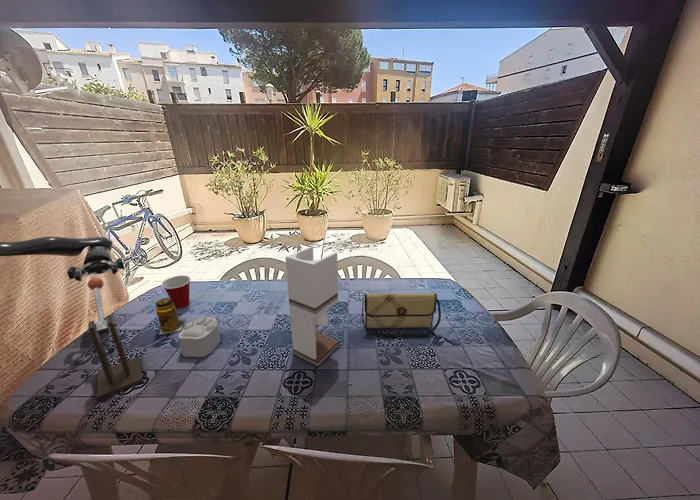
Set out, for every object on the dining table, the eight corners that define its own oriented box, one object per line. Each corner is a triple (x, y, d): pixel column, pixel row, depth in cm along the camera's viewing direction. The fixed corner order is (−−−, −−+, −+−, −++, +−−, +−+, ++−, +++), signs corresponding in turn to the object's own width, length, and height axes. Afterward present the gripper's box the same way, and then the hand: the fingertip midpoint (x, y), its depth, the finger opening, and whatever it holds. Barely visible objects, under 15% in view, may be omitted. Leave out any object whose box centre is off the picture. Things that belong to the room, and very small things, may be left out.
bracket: (99, 374, 82) (77, 318, 76) (139, 359, 88) (123, 306, 82) (97, 400, 74) (73, 340, 67) (143, 381, 80) (124, 324, 73)
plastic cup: (162, 312, 114) (156, 287, 110) (173, 300, 124) (167, 276, 120) (190, 310, 116) (185, 285, 112) (198, 297, 126) (193, 274, 122)
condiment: (158, 335, 100) (150, 307, 96) (163, 323, 108) (155, 296, 104) (181, 330, 103) (174, 303, 99) (184, 318, 110) (178, 292, 106)
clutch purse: (361, 337, 100) (362, 301, 95) (360, 326, 106) (361, 292, 101) (441, 336, 100) (446, 300, 95) (435, 325, 107) (439, 291, 102)
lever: (88, 284, 83) (85, 277, 81) (104, 281, 86) (101, 274, 83) (96, 337, 75) (92, 330, 72) (113, 332, 77) (110, 325, 74)
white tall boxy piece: (317, 366, 86) (313, 264, 74) (293, 353, 91) (285, 256, 80) (338, 346, 95) (337, 252, 83) (315, 335, 100) (310, 246, 89)
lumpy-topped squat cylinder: (177, 356, 90) (171, 334, 87) (200, 332, 102) (196, 312, 99) (207, 357, 89) (203, 335, 86) (227, 333, 102) (223, 313, 99)
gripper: (68, 255, 95) (62, 269, 83) (120, 247, 104) (121, 259, 92) (75, 275, 98) (70, 291, 86) (125, 265, 106) (127, 279, 94)
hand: (96, 274), depth 89 cm, fingers open, 8 cm apart
